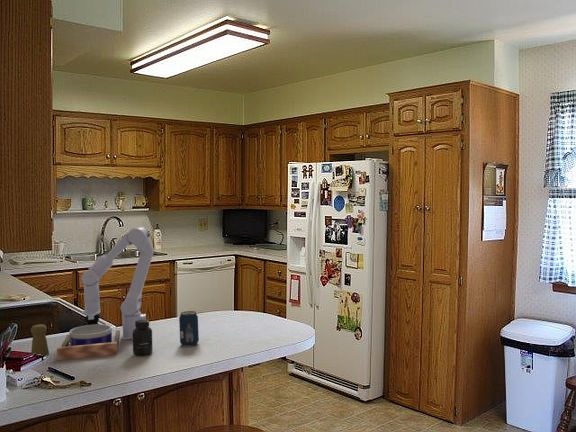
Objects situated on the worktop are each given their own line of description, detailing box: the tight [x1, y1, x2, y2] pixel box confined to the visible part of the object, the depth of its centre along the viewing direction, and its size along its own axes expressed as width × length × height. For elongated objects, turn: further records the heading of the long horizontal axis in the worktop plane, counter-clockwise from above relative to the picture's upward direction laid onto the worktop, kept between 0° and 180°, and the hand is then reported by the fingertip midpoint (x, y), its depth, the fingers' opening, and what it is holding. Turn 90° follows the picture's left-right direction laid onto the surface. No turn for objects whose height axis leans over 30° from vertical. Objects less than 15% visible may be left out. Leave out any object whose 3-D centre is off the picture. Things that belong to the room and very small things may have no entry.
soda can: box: [178, 310, 200, 347], centre depth 208 cm, size 7×7×12 cm
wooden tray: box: [56, 329, 121, 361], centre depth 208 cm, size 20×28×4 cm
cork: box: [30, 323, 50, 356], centre depth 199 cm, size 6×6×11 cm
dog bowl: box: [68, 323, 113, 346], centre depth 211 cm, size 15×15×6 cm
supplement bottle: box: [132, 319, 154, 357], centre depth 196 cm, size 7×7×12 cm
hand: (93, 333), depth 220 cm, fingers closed
